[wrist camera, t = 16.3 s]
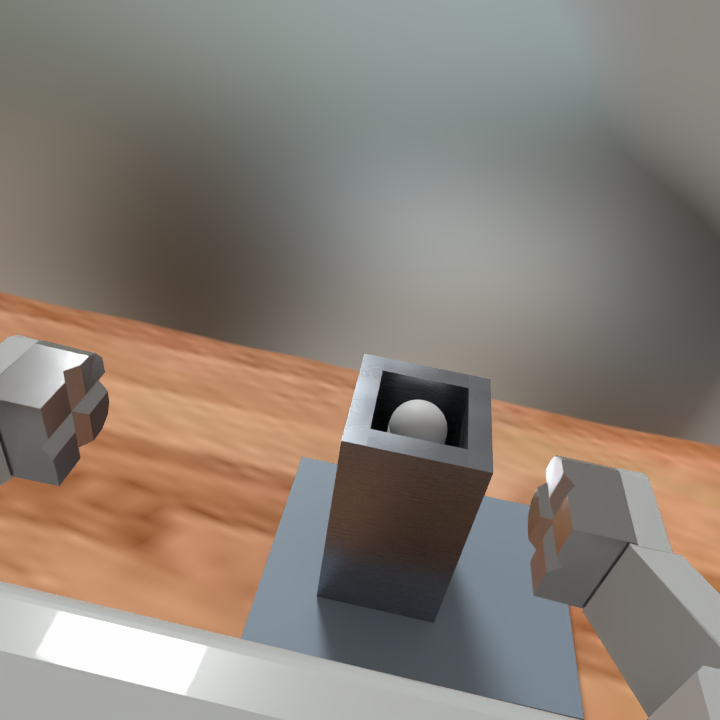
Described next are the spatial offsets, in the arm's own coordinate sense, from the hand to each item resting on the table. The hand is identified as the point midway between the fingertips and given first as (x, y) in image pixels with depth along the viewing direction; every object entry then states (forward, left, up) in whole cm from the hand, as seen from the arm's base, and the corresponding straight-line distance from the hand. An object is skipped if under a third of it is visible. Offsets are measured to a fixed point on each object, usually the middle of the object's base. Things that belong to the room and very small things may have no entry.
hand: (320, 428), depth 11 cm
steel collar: (+3, +12, -20) cm, 23 cm away
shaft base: (+5, +12, -22) cm, 25 cm away
